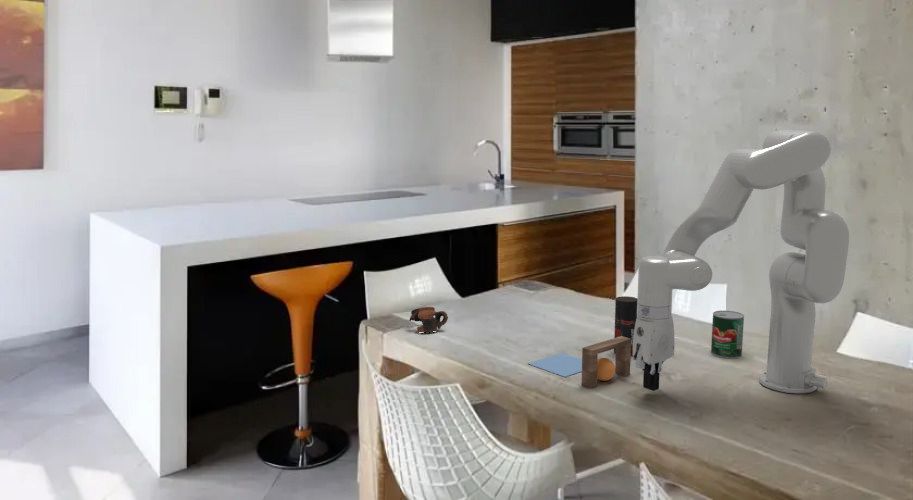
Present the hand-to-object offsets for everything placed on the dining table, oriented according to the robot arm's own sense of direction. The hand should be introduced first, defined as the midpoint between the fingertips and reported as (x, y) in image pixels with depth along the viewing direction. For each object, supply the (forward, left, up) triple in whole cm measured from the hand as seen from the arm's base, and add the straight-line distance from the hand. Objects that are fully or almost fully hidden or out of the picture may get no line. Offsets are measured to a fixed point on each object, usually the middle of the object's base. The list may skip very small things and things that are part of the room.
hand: (650, 388), depth 169 cm
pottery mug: (+75, +7, -2) cm, 76 cm away
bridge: (+13, 0, -2) cm, 13 cm away
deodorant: (+23, -20, -2) cm, 31 cm away
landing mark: (+27, 0, -2) cm, 27 cm away
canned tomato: (+5, -40, -2) cm, 40 cm away
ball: (+13, +1, +1) cm, 13 cm away
